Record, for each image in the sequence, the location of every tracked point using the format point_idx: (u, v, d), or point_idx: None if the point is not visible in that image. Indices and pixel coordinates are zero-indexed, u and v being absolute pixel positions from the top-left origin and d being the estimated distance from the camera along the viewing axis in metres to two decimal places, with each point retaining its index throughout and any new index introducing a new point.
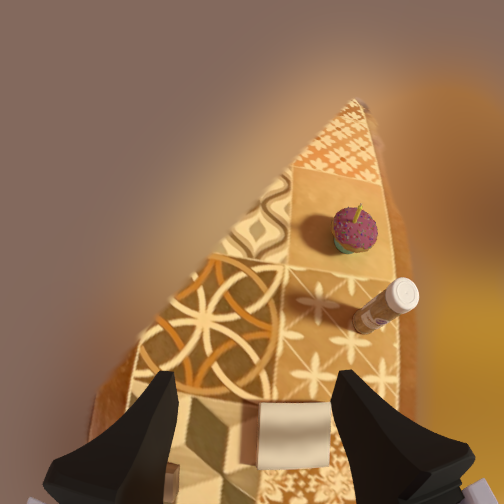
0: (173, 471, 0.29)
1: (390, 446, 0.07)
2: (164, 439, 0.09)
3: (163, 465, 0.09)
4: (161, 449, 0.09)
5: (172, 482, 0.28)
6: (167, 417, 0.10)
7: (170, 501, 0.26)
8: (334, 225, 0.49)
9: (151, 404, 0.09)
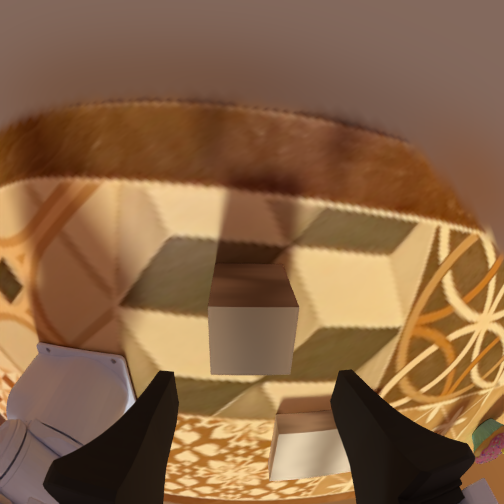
0: None
1: (390, 446, 0.07)
2: (164, 439, 0.09)
3: (163, 465, 0.09)
4: (161, 449, 0.09)
5: (266, 372, 0.16)
6: (167, 417, 0.10)
7: (214, 371, 0.16)
8: None
9: (151, 404, 0.09)
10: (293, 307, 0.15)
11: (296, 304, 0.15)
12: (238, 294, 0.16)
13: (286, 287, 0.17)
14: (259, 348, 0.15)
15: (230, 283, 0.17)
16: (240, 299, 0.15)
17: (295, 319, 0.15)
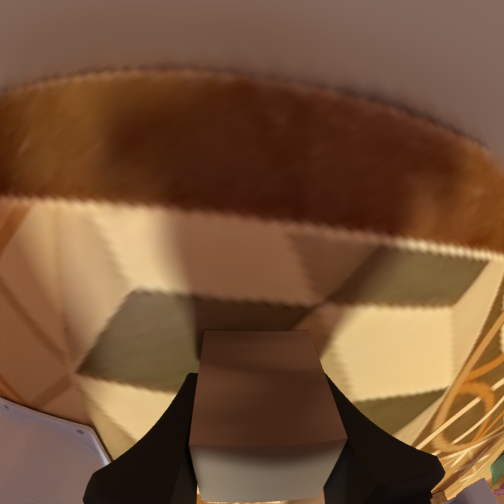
0: None
1: (353, 454, 0.07)
2: None
3: None
4: None
5: None
6: None
7: (206, 499, 0.08)
8: None
9: (187, 407, 0.09)
10: (338, 438, 0.07)
11: (342, 432, 0.07)
12: (242, 411, 0.08)
13: (321, 388, 0.09)
14: (275, 482, 0.08)
15: (227, 382, 0.10)
16: (245, 424, 0.08)
17: (338, 451, 0.07)
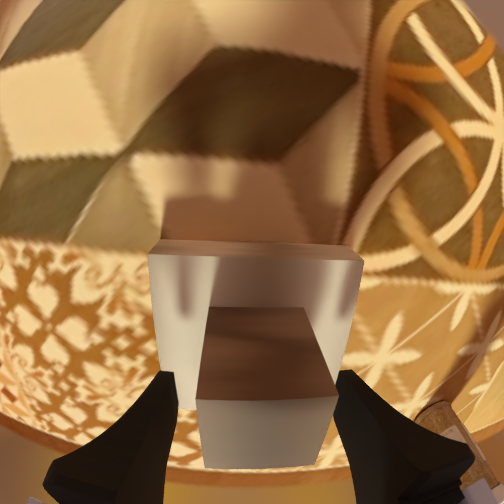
0: None
1: (390, 446, 0.07)
2: (164, 439, 0.09)
3: (163, 465, 0.09)
4: (161, 449, 0.09)
5: None
6: (167, 417, 0.10)
7: (209, 465, 0.10)
8: None
9: (151, 404, 0.09)
10: (330, 395, 0.09)
11: (334, 390, 0.09)
12: (244, 372, 0.10)
13: (315, 354, 0.11)
14: (274, 444, 0.09)
15: (230, 348, 0.11)
16: (246, 382, 0.09)
17: (331, 409, 0.09)
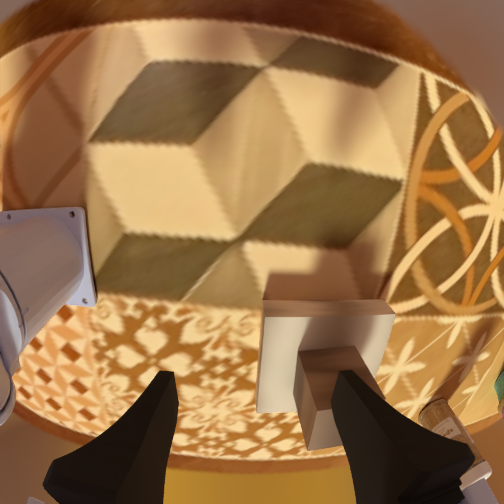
0: None
1: (390, 446, 0.07)
2: (164, 439, 0.09)
3: (163, 465, 0.09)
4: (161, 449, 0.09)
5: None
6: (167, 417, 0.10)
7: (311, 448, 0.17)
8: None
9: (151, 404, 0.09)
10: None
11: (382, 396, 0.16)
12: None
13: (368, 376, 0.18)
14: None
15: (322, 378, 0.18)
16: None
17: None
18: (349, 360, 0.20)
